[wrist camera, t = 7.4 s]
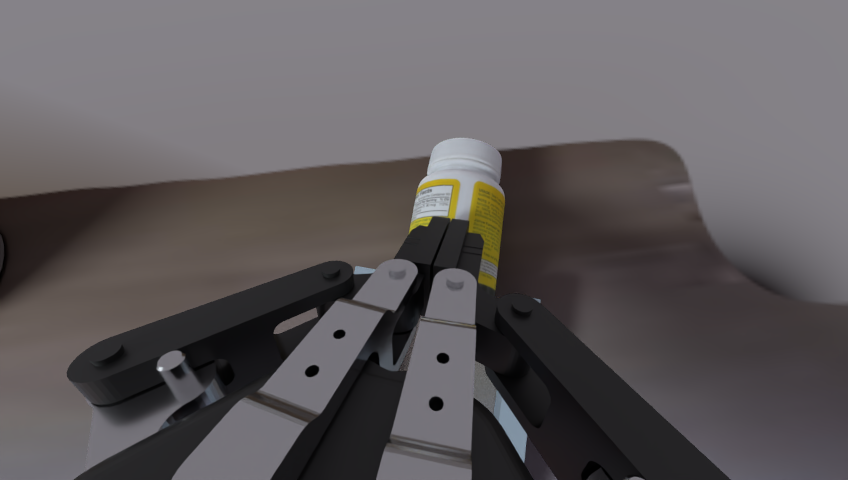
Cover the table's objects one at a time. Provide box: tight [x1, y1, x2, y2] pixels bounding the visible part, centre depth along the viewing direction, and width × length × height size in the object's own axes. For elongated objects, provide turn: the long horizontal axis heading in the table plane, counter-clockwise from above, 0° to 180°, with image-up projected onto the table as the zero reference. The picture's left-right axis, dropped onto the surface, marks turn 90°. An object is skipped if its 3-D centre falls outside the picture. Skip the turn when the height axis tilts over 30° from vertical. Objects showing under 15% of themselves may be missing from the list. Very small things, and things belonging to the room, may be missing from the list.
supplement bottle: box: [409, 138, 505, 297], centre depth 16 cm, size 5×5×8 cm
